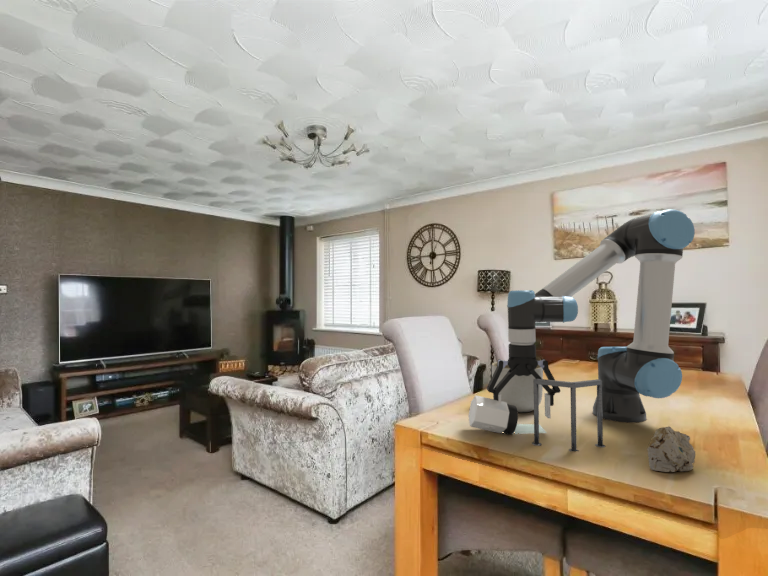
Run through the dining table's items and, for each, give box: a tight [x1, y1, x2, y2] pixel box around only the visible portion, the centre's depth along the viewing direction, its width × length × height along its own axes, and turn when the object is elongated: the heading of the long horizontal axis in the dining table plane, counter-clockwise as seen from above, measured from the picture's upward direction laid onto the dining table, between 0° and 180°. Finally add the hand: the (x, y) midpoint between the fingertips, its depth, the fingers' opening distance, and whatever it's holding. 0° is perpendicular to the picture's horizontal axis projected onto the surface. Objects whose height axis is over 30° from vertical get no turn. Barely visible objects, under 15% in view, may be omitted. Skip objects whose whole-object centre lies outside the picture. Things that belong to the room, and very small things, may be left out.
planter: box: [491, 361, 544, 413], centre depth 141 cm, size 17×17×15 cm
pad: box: [514, 423, 548, 435], centre depth 117 cm, size 13×13×1 cm
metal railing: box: [531, 378, 606, 452], centre depth 103 cm, size 18×6×18 cm, turn 85°
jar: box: [468, 395, 519, 435], centre depth 116 cm, size 9×8×12 cm
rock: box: [646, 425, 697, 473], centre depth 91 cm, size 12×7×10 cm, turn 111°
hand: (523, 416), depth 117 cm, fingers open, 13 cm apart
